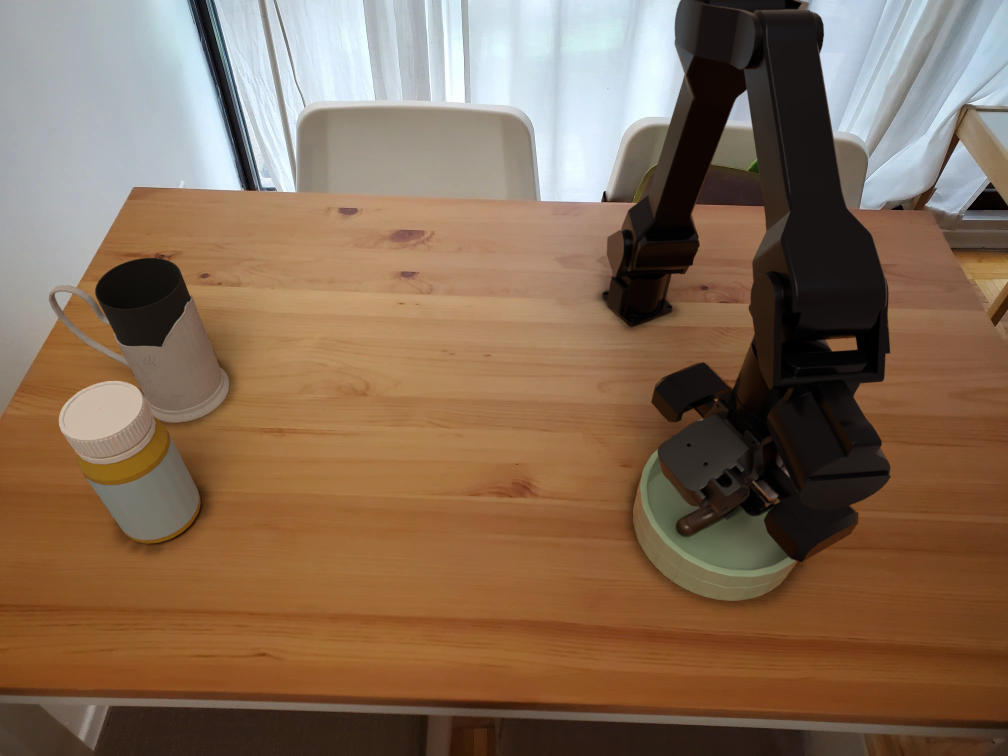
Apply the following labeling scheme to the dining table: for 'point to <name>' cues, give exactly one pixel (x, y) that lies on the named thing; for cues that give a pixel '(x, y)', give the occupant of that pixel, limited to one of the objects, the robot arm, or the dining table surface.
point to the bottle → (130, 461)
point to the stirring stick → (697, 522)
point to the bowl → (705, 544)
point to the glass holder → (156, 337)
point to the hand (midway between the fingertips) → (721, 508)
